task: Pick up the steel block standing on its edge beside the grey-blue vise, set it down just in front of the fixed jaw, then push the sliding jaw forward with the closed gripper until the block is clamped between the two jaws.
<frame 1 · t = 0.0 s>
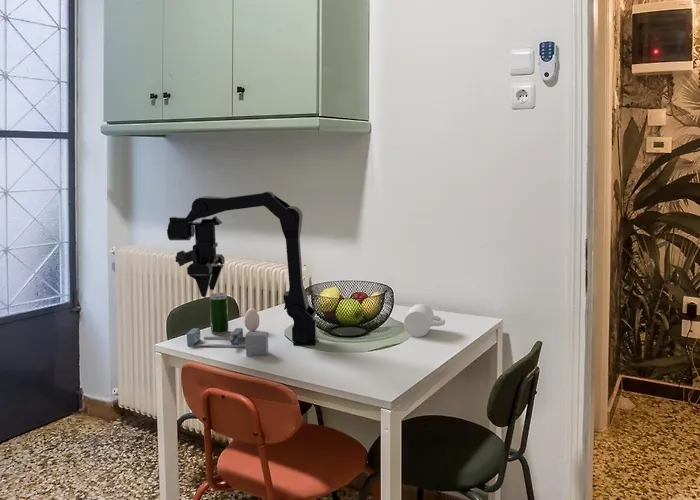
hand: (207, 293, 190), 15 cm above the table, fingers open, 9 cm apart
egg: (252, 332, 202), on the table
beer can: (219, 332, 202), on the table
vise bed: (217, 342, 191), on the table
sliding jaw: (235, 338, 188), point 2 cm above the table, slide at 0.0 cm
steel block: (257, 354, 180), on the table
mug: (425, 333, 199), on the table
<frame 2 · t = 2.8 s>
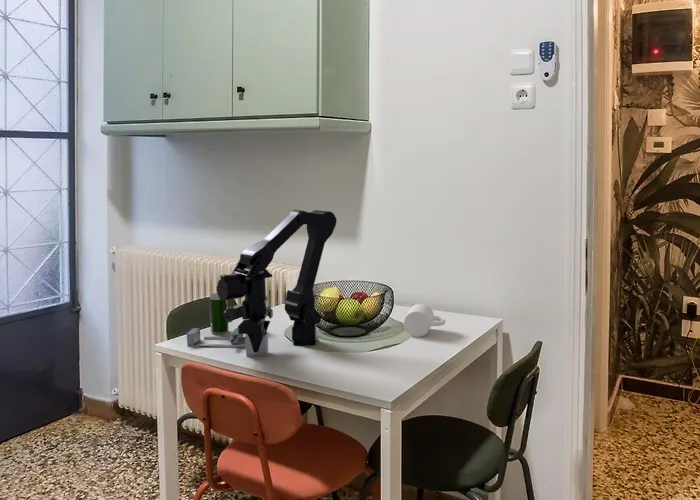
hand: (257, 350, 179), 1 cm above the table, fingers closed on steel block, 3 cm apart
steel block: (257, 354, 180), on the table, touching gripper
everything else where it was.
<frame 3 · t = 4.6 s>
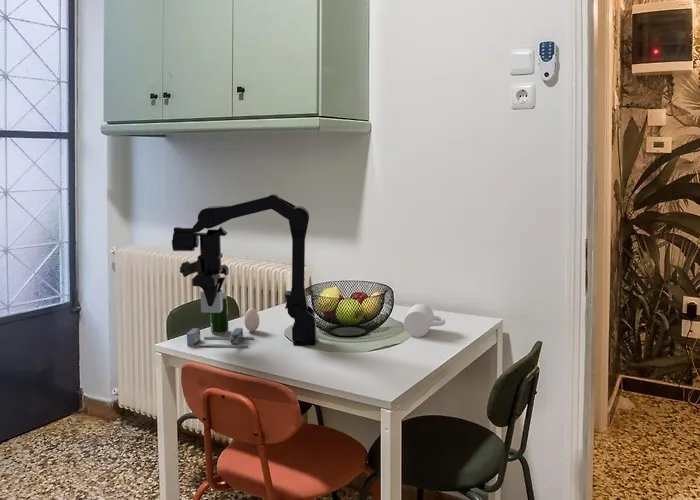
hand: (211, 304, 187), 12 cm above the table, fingers closed on steel block, 3 cm apart
steel block: (211, 311, 187), point 10 cm above the table, touching gripper
everything else where it was.
when the fingers open (2 cm above the table, at t = 6.6 s): steel block stays where it is, on the table.
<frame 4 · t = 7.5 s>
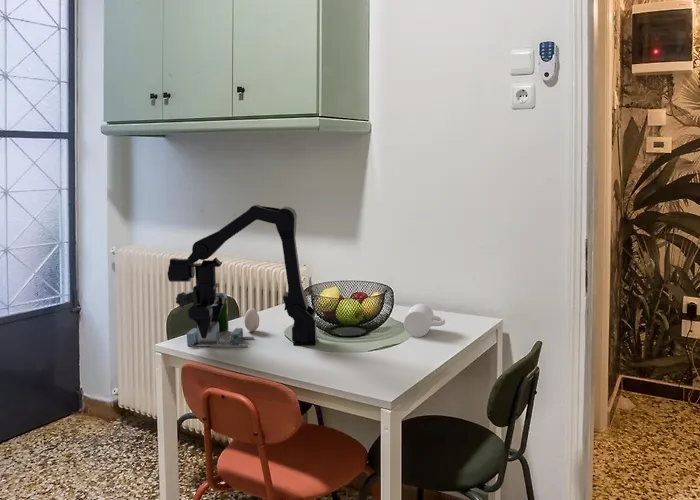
hand: (208, 333, 190), 3 cm above the table, fingers open, 9 cm apart
steel block: (208, 342, 191), on the table
everything else where it was.
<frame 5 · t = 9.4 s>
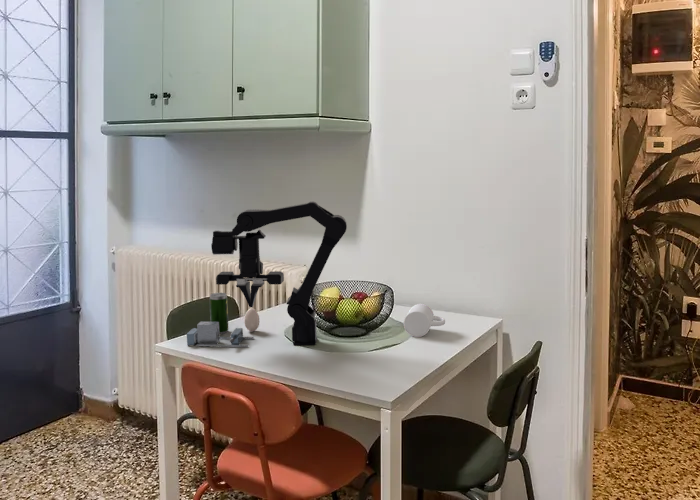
hand: (251, 307, 188), 11 cm above the table, fingers closed
nothing on the table moved.
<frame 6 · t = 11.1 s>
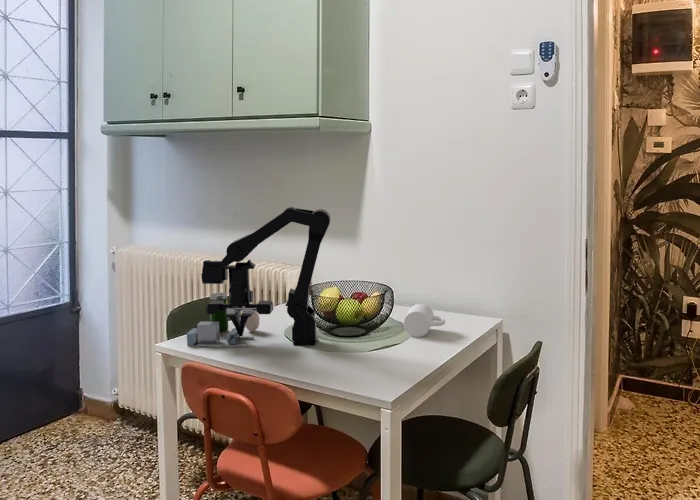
hand: (240, 335, 190), 2 cm above the table, fingers closed
sliding jaw: (232, 338, 189), point 2 cm above the table, slide at 0.9 cm, touching gripper
everything else where it was.
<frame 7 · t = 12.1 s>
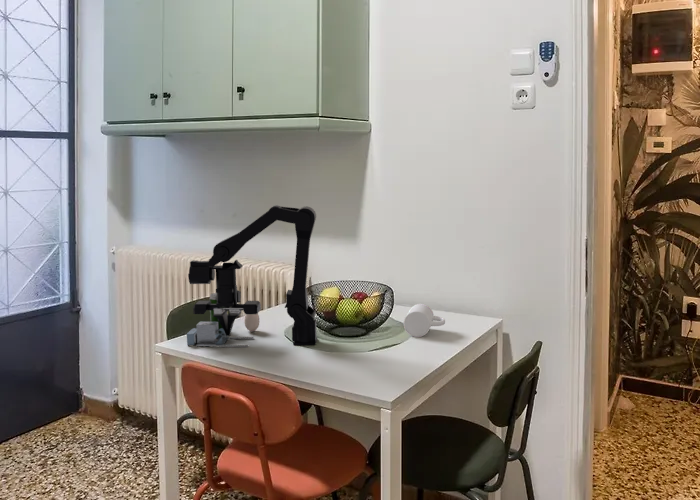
hand: (228, 335, 190), 2 cm above the table, fingers closed
sliding jaw: (219, 338, 189), point 2 cm above the table, slide at 4.6 cm, touching gripper, steel block
steel block: (208, 342, 191), on the table, touching sliding jaw
everything else where it was.
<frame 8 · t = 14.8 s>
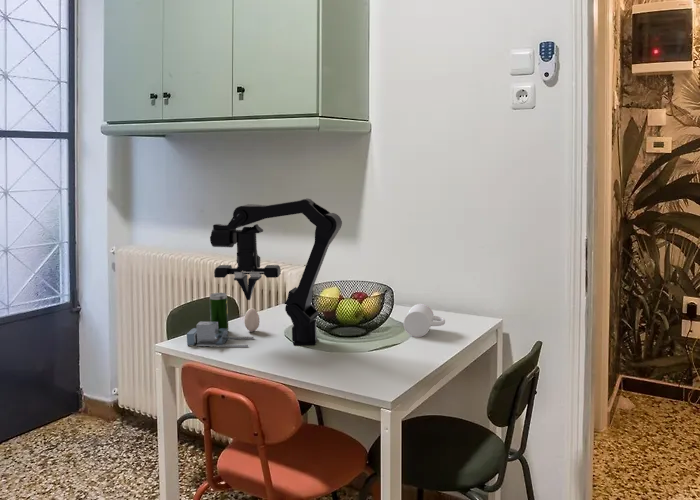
hand: (248, 299, 192), 12 cm above the table, fingers closed
sliding jaw: (219, 338, 189), point 2 cm above the table, slide at 4.6 cm
steel block: (208, 342, 191), on the table
everything else where it was.
at the end: sliding jaw slide at 4.6 cm; steel block 0.1 cm from the target spot, on the table; steel block tilted 0° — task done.
